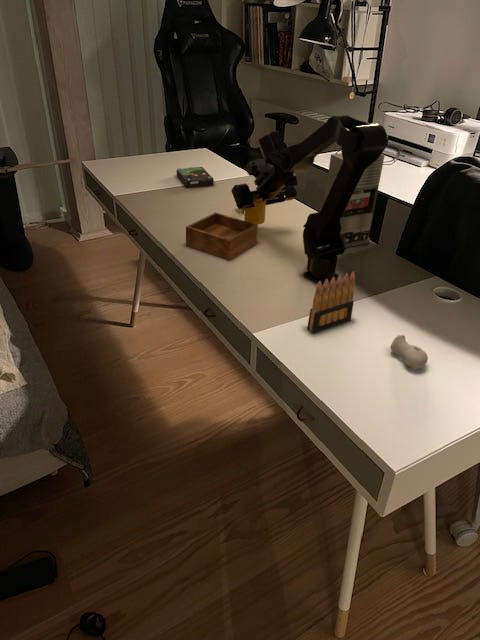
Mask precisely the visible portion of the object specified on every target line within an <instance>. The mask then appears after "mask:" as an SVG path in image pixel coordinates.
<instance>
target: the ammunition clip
mask: <svg viewBox="0 0 480 640" xmlns="http://www.w3.org/2000/svg"><path fill="white" fill-rule="evenodd" d="M342 277H343V276H342V275H341V274H339V275H338V277H337V278H334V277H333V278H332V280H331V281H329V282H328V279H326V280H325V282H324V284H322V283H321V281H319V282H317V284H316V288H315V292H314V297H313V300H312V306H311V308H310V309H309V310H310V311H309V316H308V320H307V321H308V322H307V327H306V330H307V331H309V332H310V333H312V334H315V333H318V332H321V331H322V332H323V331H324V330H327V329H331V328H333V327H337V326H341V325H342V324H345V323H349V322H351V321H352V316H353V308H354V299H353V298H354V294H355V283H356V273H355V271H354V270H353V271H352V272H351V273H350V277H349V273H348V272H346V273H345V275H344V277H343V278H342Z"/></svg>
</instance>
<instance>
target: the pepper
mask: <svg viewBox="0 0 480 640" xmlns="http://www.w3.org/2000/svg"><path fill="white" fill-rule="evenodd" d="M254 191H256V189H255V190H254ZM254 206H255V207H252V208H248V209H245V211H244V215H243V216H244V217H243V219H244V220H243V221H246V222H250V223H253V224H257V225H258V226H259V225H263V224H264V223H266V206H267V205H266V201H263V200H262V199H258V200H255V202H254Z"/></svg>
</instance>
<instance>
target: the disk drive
mask: <svg viewBox="0 0 480 640" xmlns="http://www.w3.org/2000/svg"><path fill="white" fill-rule="evenodd" d="M175 172H176V177H178V179H179V180H180V181H181V183H182V184H183V185H184V186H185V187H186V188H198V187H211V186H214V185H215V180H214V178H213V176H212V175H211V174H210V173H209V172H208V171H207V170H206V169H205V168H204V167H203V166H195V167H194V166H193V167H185V168H177V169H176V171H175Z"/></svg>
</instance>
